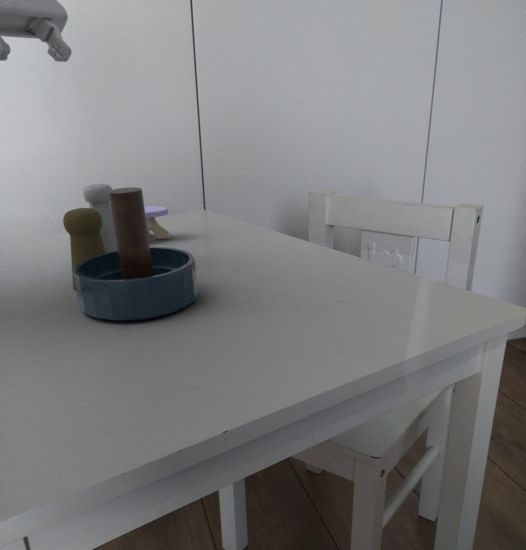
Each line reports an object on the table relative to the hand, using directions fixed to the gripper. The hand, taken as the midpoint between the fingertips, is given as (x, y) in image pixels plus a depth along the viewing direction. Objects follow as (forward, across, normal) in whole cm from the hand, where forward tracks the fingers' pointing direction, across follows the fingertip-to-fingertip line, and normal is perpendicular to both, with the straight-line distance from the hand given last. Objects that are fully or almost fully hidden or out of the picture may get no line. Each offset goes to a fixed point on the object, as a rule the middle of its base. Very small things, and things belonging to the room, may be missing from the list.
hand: (36, 56), depth 61 cm
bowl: (+24, -5, -17) cm, 30 cm away
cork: (+17, -10, -25) cm, 32 cm away
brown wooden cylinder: (+24, -5, -17) cm, 30 cm away
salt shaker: (+15, -17, -27) cm, 35 cm away
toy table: (+12, -35, -30) cm, 48 cm away
